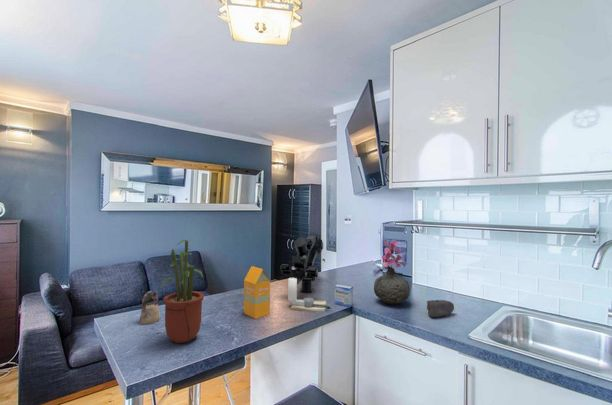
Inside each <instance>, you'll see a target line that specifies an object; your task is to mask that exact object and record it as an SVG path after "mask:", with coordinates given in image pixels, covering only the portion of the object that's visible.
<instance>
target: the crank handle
mask: <svg viewBox="0 0 612 405" xmlns="http://www.w3.org/2000/svg"><path fill="white" fill-rule="evenodd" d="M287 279H288V282H287V283H288V284H287V285H288V286H287V287H288V288H287V289H288V290H287V300H288V302H291V306H292V305H301V306H305V307H313V306H318V307H326V309H327V308H329V306H328V305H319V304H314V300H315V298H314V297H309V296H307V297H305V298H303V299H304V300H297V299H298V296H297V295H298V294H297V293H298V285H297V278H294V277H289V278H287Z"/></svg>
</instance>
